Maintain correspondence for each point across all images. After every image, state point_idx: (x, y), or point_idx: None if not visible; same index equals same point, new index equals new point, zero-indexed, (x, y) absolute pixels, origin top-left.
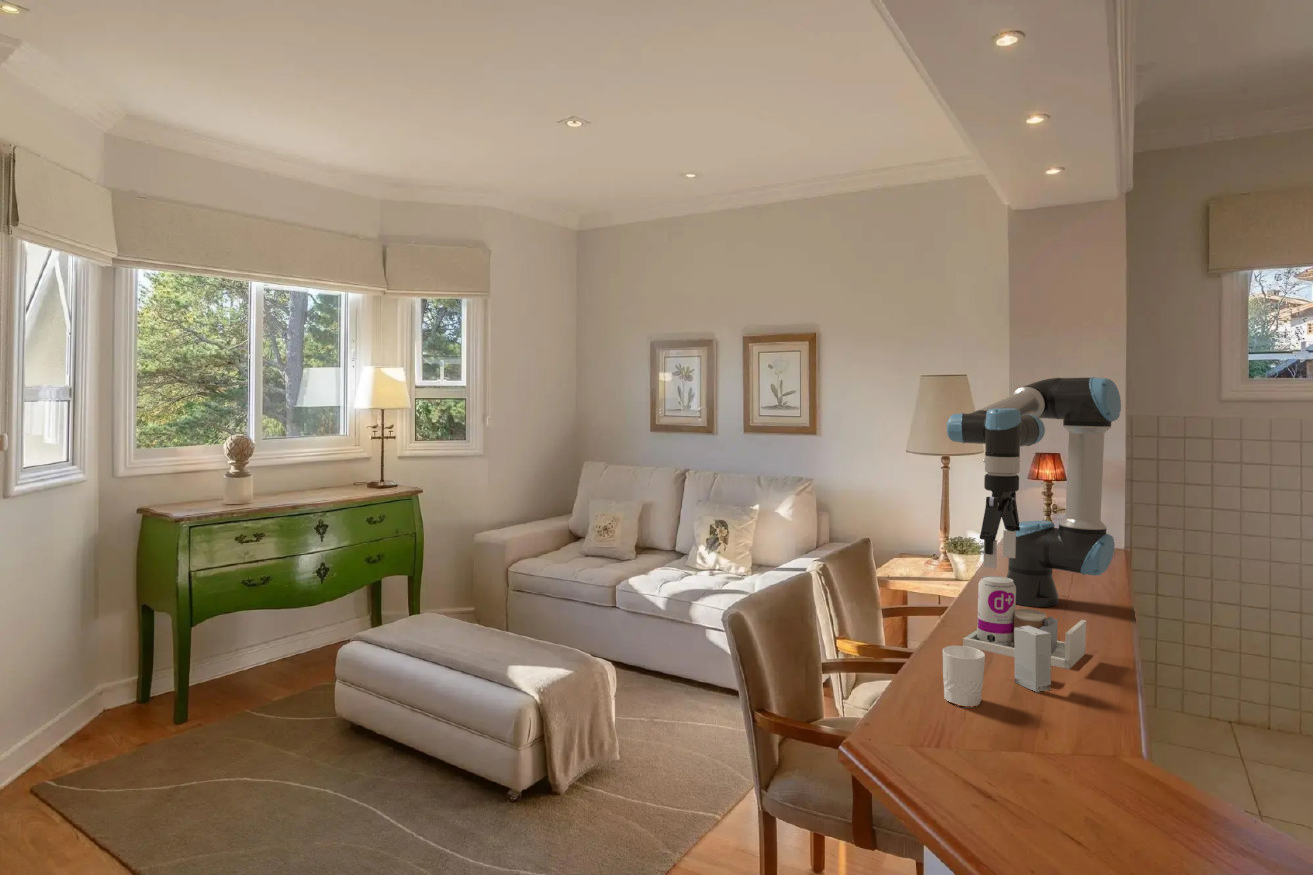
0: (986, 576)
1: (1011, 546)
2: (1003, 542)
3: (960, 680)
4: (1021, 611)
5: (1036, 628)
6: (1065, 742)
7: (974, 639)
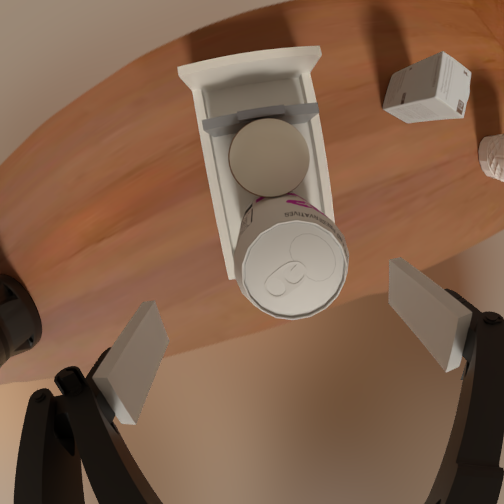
0: (278, 316)
1: (143, 340)
2: (152, 379)
3: None
4: (274, 180)
5: (441, 78)
6: (487, 44)
7: None
